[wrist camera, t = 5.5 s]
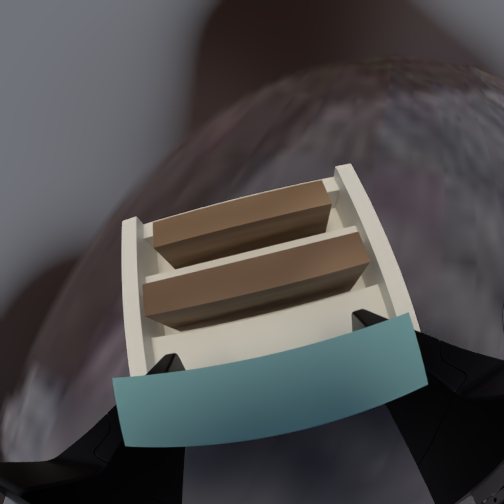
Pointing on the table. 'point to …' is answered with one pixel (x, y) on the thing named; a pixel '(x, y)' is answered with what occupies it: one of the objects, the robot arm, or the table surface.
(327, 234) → the offcut rack
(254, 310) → the walnut offcut
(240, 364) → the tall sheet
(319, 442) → the table surface
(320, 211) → the walnut offcut
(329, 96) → the table surface
